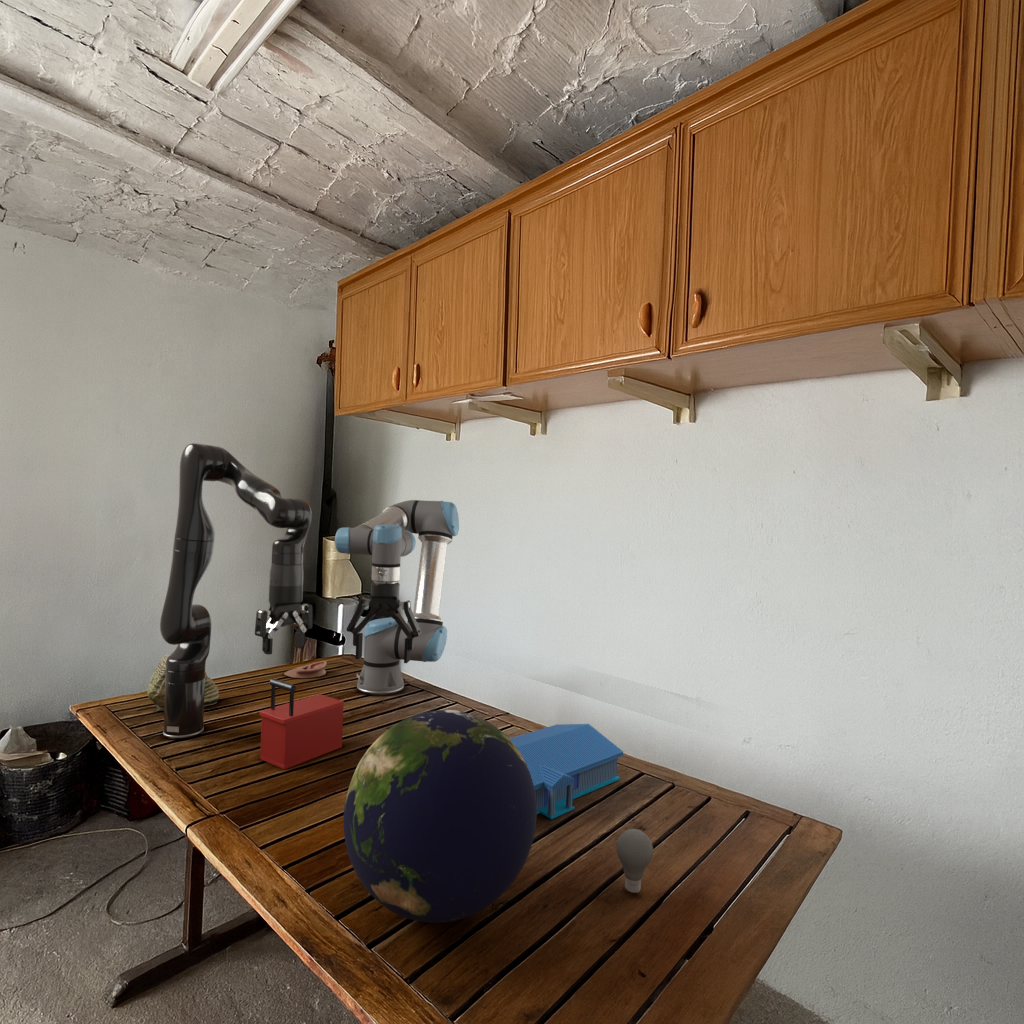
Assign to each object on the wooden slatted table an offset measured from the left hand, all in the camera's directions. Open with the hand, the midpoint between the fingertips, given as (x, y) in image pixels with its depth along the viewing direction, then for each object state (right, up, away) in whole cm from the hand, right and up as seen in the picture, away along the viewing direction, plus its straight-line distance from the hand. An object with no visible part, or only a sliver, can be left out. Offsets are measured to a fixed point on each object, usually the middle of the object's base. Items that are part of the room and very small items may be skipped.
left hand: (283, 650), depth 150 cm
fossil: (-42, -24, +35) cm, 60 cm away
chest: (+2, -26, +6) cm, 27 cm away
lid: (+3, -16, +5) cm, 17 cm away
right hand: (+19, -7, +21) cm, 30 cm away
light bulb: (+74, -31, -44) cm, 92 cm away
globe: (+42, -29, -50) cm, 72 cm away
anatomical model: (-19, -24, +73) cm, 79 cm away
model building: (+59, -29, -8) cm, 66 cm away
